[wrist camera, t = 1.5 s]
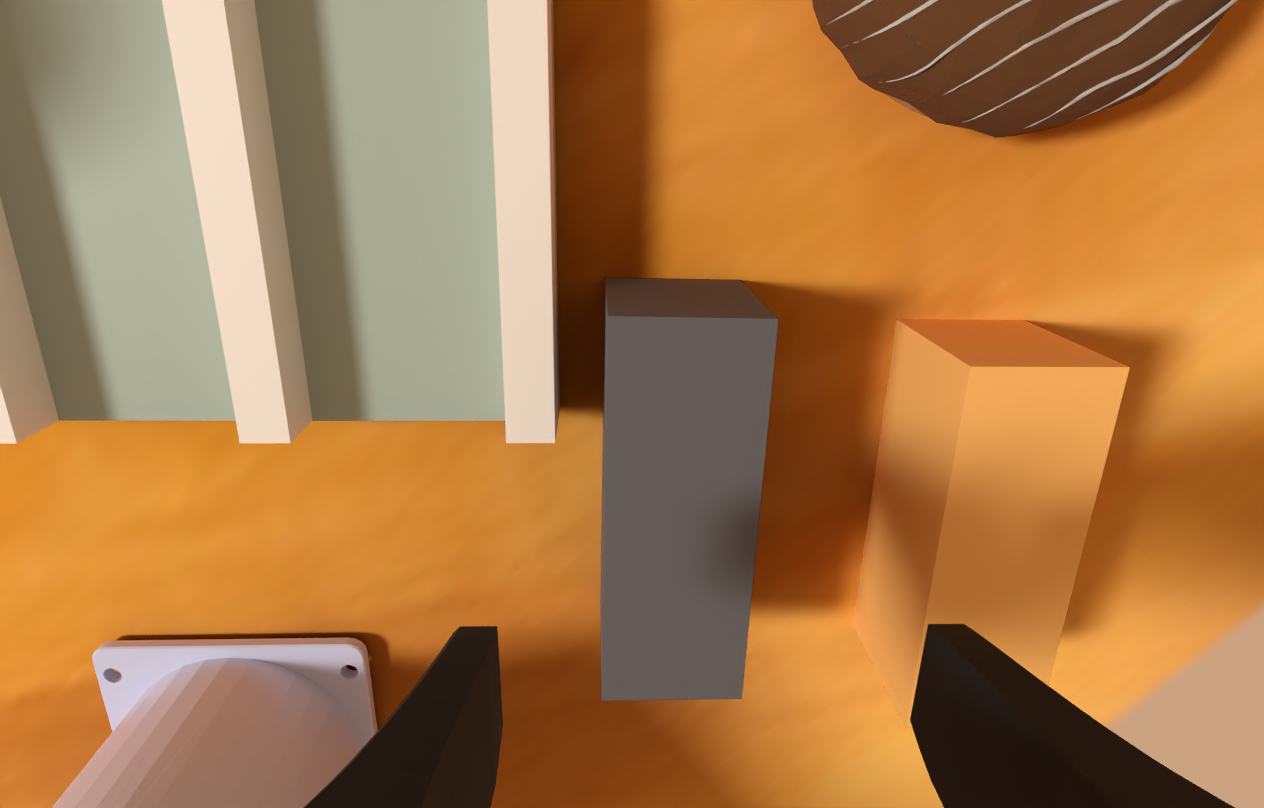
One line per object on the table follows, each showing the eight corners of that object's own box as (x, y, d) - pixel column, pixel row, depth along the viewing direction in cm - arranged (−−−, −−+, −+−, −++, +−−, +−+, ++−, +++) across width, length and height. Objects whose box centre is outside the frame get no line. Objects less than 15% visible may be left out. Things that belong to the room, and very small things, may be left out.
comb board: (559, 407, 21) (555, 442, 18) (37, 406, 20) (-36, 443, 18) (548, -277, 16) (540, -349, 13) (-158, -309, 15) (-298, -391, 13)
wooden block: (961, 621, 24) (1037, 725, 20) (851, 622, 24) (905, 727, 20) (1021, 318, 21) (1129, 367, 17) (894, 318, 21) (970, 366, 16)
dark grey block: (715, 596, 23) (741, 699, 19) (600, 596, 23) (601, 700, 19) (740, 278, 20) (778, 319, 16) (605, 276, 20) (608, 315, 16)
